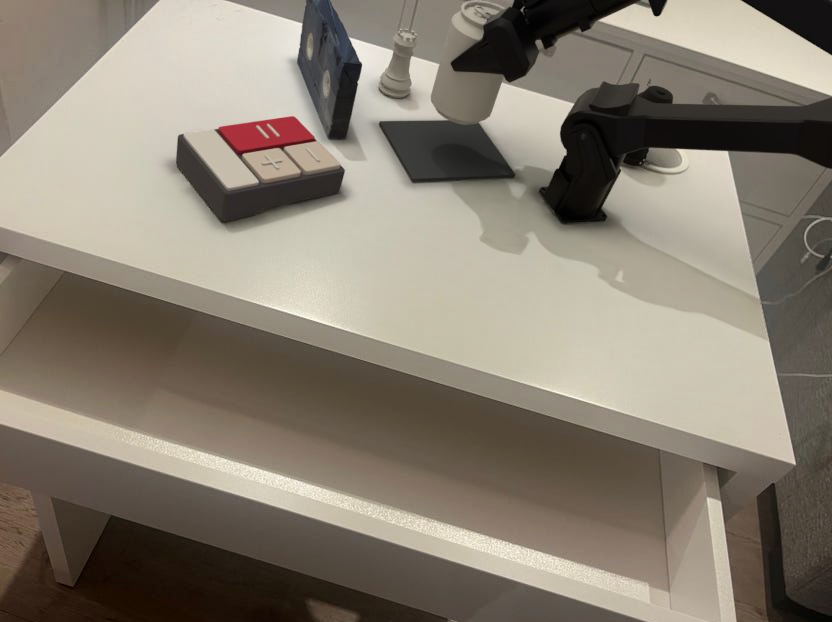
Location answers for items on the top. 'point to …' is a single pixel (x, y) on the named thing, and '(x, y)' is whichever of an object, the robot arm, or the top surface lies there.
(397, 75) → the rook chess piece
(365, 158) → the top surface
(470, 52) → the robot arm
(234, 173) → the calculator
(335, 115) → the vhs cassette tape
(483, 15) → the can
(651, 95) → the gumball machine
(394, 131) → the mat
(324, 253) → the top surface
